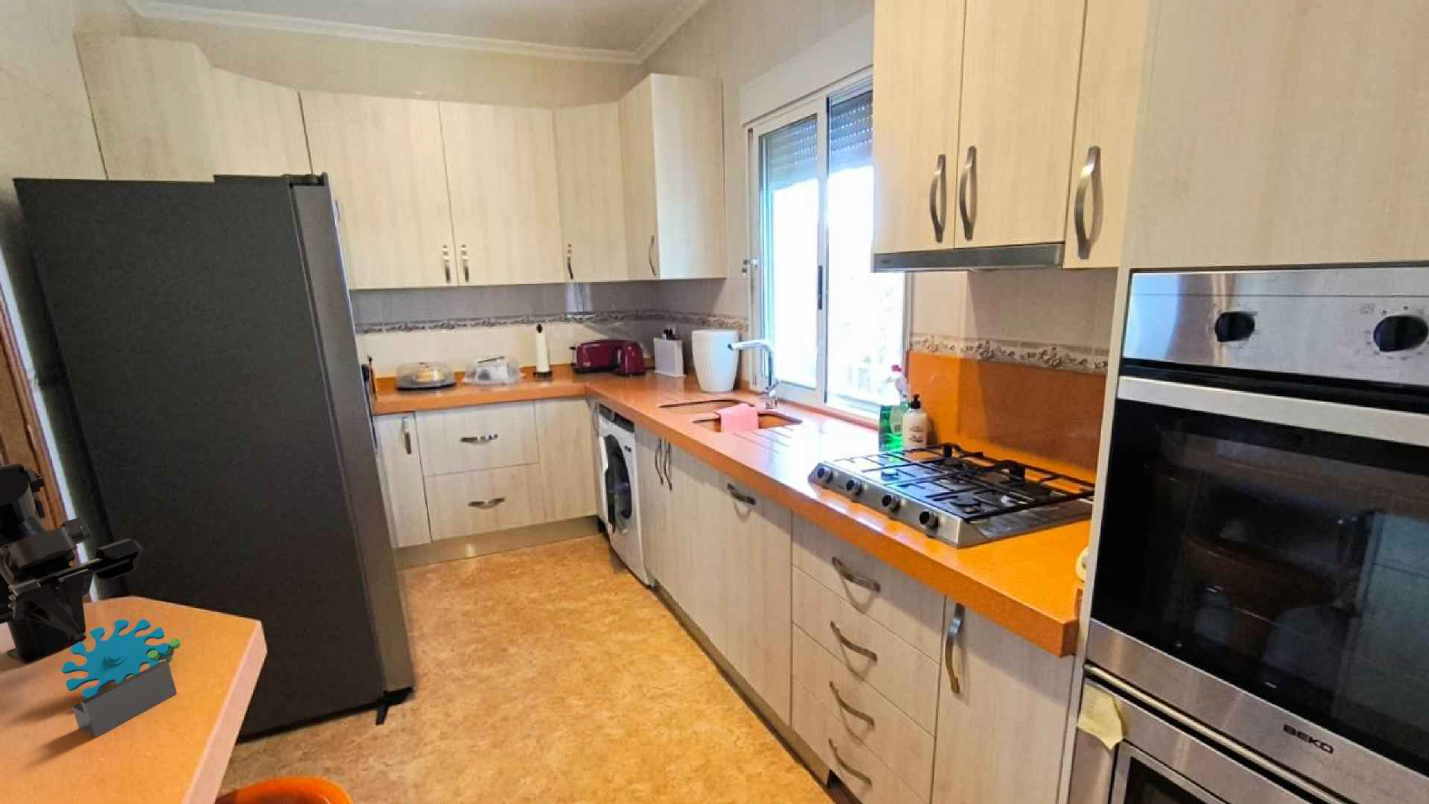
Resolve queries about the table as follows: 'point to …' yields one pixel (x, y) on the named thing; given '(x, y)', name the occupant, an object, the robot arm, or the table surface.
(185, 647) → the table surface
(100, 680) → the gear
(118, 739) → the table surface
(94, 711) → the bay frame
